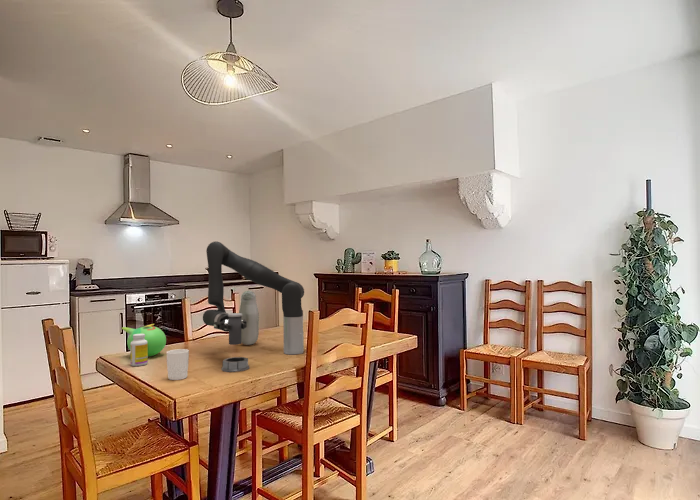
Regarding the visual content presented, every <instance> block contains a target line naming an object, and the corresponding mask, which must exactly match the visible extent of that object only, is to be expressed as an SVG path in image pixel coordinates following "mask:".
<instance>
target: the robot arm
mask: <svg viewBox="0 0 700 500" xmlns="http://www.w3.org/2000/svg"><path fill="white" fill-rule="evenodd" d="M206 258H207V267H208V270H207V271H208V291H207V303H208V305H210V306H215V307H216V308H217V309H207V310H205V311H204V312H203V314H202V320H203V321H202V322H203V323H204V324H205V325H206V326H208V327H209V326H210V327H211V326H212V327H213V329H214V330H219V331H223V332H225V333H229V330H231V325H230V324H229V317H228V314H229V313H227V312H226V308H225V304H224V292H225V291H224V290H225V289H224V280H223V272H222V271H223V270H222V269H223V266H225V267H227V268H230V269H231V270H234V271H235V272H236V273H238V274H239V275H241V276H242V277H244V278H246V280H249V281H250V282H253V283H255V284H257V285H260V286H263V287H266V288H270V289H273V290H275V291H277V292H279V293H280V294H281V308H282V312H283V313H282V314H283V315H282V316H283V317H282V318H283V320H282V321H283V328H282V329H283V354H285V355H300V354H304V352H305V351H304V349H305V347H304V339H305V338H304V337H305V336H304V334H305V333H304V310H303V308H302V307H303V306H302V298H303V297H304V295H305V289H304V287H303V285H302V284H301V283H300V282H298V281H295V280H291V279H289V278H287V277H284V276H283V275H281V274H278V273H277V272H276V271H274V270H272V269H270V268H269V267H267V266H265V265H263V264H262V263H260V262H258V261H256V260H253V259H250V258H246V257H243V256H240V255H239V254H238V253H235V252H233V251H232V250H231V249H229V248H228V247H227V246H226V245H225V244H223V243H222V242H220V241H212V242H210V243H209V244H208V245H207V247H206ZM222 265H223V266H222ZM246 327H247V321H246V320H242V322H241V329H245V328H246Z"/></svg>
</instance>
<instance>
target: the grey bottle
mask: <svg viewBox="0 0 700 500" xmlns="http://www.w3.org/2000/svg"><path fill="white" fill-rule="evenodd" d="M256 297H257V296H256V294H255V292H254V291H252V290H246V291H244V292H242V294H241V298H240V305H239V310H238V313H242V316H241V322H242V320H246V321H247V327H246V328H245V329H241V344H242V345H245V346H250V345H255V343H256V342H257V341H258V340H259V328H260V327H259V323H260V321H259V320H260V319H259V318H260V317H259V316H260V315H259V309H258V308H259V307H258V303H257V298H256Z"/></svg>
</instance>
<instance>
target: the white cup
mask: <svg viewBox="0 0 700 500" xmlns="http://www.w3.org/2000/svg"><path fill="white" fill-rule="evenodd" d="M189 351H190V350H189V349H187V348H178V349H171V350H166V368H167V377H168V378H167V379H168V380H170V381H180V380H183V379H184V380H185V379H186V378H188V374H189V373H188V370H189V360H190V359H189V355H190V352H189Z"/></svg>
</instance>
